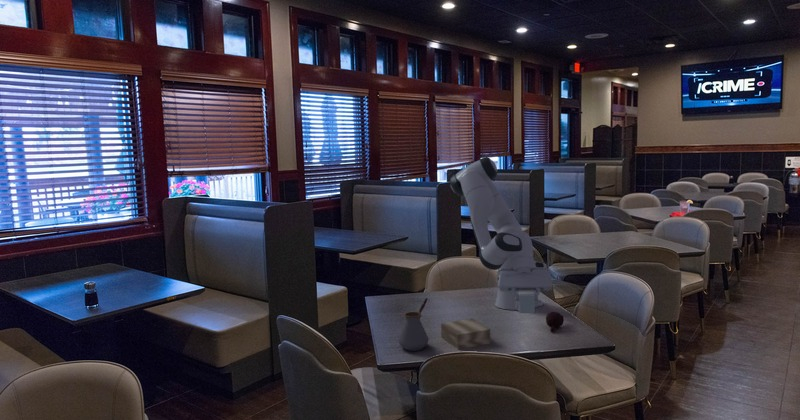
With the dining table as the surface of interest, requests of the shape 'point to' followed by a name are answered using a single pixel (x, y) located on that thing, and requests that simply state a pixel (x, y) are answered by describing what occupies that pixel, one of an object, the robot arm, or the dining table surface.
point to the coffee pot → (413, 331)
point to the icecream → (554, 320)
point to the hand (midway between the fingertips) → (526, 299)
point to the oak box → (465, 333)
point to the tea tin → (526, 301)
